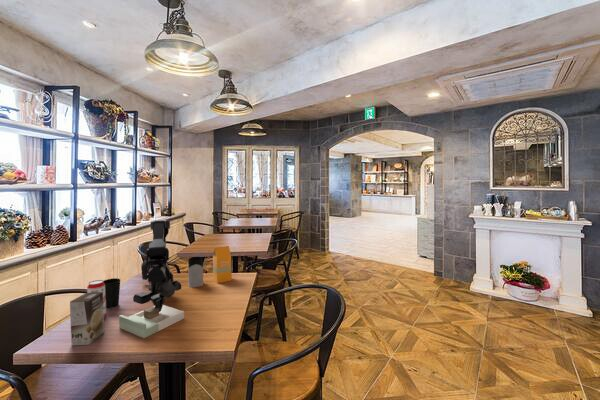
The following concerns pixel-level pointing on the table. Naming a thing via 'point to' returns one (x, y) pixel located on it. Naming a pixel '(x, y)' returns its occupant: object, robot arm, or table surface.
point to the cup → (112, 292)
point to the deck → (150, 321)
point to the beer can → (98, 287)
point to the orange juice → (222, 264)
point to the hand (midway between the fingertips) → (159, 311)
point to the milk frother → (145, 270)
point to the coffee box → (86, 318)
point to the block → (151, 312)
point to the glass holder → (195, 272)
